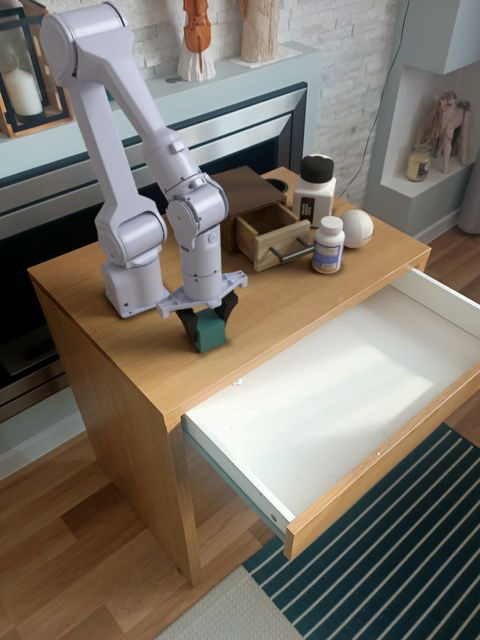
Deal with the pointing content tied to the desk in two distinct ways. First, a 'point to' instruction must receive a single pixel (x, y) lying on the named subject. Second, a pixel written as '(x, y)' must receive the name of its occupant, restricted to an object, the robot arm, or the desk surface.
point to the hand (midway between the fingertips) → (206, 333)
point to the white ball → (356, 228)
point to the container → (314, 189)
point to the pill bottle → (328, 245)
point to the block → (209, 330)
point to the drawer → (272, 236)
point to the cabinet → (243, 198)
